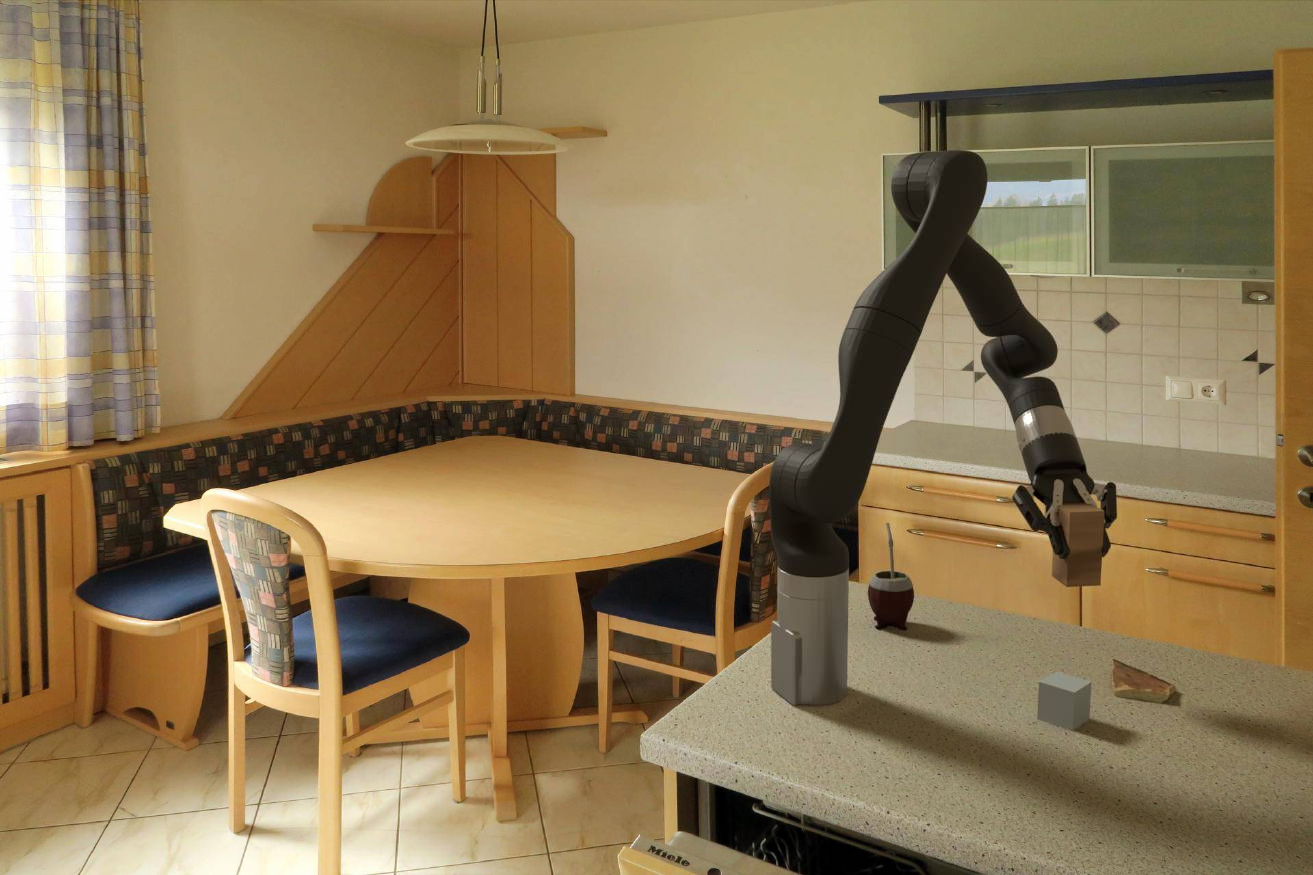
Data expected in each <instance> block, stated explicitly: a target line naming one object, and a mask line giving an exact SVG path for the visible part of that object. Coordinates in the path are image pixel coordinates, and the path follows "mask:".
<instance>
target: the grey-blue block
mask: <svg viewBox="0 0 1313 875" xmlns="http://www.w3.org/2000/svg"><path fill="white" fill-rule="evenodd" d="M1037 696H1038V697H1037V698H1038V699H1037V700H1038V701H1037V717H1036V720H1039V721H1042V722H1044V723H1047V724H1051V725H1053V726H1056V727H1060V728H1062V729H1065V730H1068V731H1074V730H1076V729H1077V728H1078V727H1080V726H1082V725H1083V724H1085V723H1086V722H1088V721H1089V720H1090V714H1091V713H1090V712H1091V699H1092V697H1091V696H1092V681H1091V680H1086V679H1083V678H1080V677H1077V676H1073V675H1070V674H1067V673H1064V672H1060V671H1055V672H1053V673H1052V674H1050V675H1048V676H1047V677H1044V678H1043V679H1041V680H1039V682H1038V695H1037Z"/></svg>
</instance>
